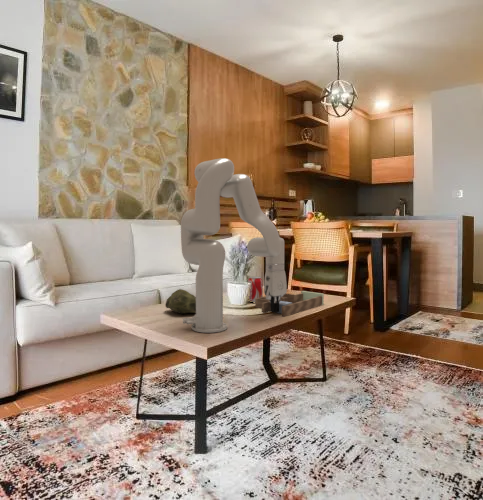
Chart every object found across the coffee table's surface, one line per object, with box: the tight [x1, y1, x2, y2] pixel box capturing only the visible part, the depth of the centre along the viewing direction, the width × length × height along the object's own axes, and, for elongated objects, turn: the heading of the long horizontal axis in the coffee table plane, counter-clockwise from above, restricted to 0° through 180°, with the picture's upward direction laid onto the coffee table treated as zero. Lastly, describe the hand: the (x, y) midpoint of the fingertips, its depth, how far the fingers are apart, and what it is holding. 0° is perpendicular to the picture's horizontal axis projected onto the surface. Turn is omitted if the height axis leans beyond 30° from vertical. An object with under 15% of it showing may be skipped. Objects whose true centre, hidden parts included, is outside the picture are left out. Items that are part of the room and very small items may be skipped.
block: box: [276, 301, 292, 315], centre depth 167 cm, size 6×6×4 cm
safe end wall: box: [300, 290, 325, 306], centre depth 185 cm, size 1×11×5 cm, turn 49°
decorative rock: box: [165, 288, 196, 315], centre depth 165 cm, size 15×16×10 cm
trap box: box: [254, 292, 323, 317], centre depth 176 cm, size 30×20×4 cm, turn 139°
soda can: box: [247, 275, 264, 302], centre depth 187 cm, size 7×7×12 cm
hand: (274, 312), depth 163 cm, fingers closed
